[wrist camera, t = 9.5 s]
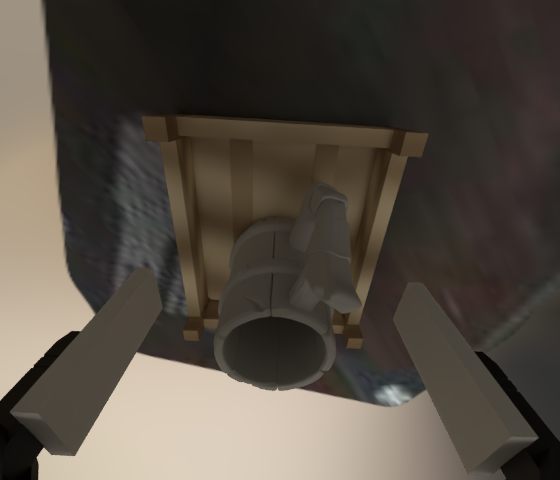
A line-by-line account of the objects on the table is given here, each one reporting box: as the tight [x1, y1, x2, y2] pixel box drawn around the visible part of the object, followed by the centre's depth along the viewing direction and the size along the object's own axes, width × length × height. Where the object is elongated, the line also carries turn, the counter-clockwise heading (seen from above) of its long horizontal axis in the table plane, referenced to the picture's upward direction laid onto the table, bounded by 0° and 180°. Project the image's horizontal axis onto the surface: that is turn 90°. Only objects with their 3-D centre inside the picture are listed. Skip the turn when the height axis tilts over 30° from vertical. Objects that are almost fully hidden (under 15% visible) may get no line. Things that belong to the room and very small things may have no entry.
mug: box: [214, 182, 362, 391], centre depth 15 cm, size 8×12×12 cm, turn 156°
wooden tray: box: [141, 114, 429, 349], centre depth 19 cm, size 17×15×5 cm
